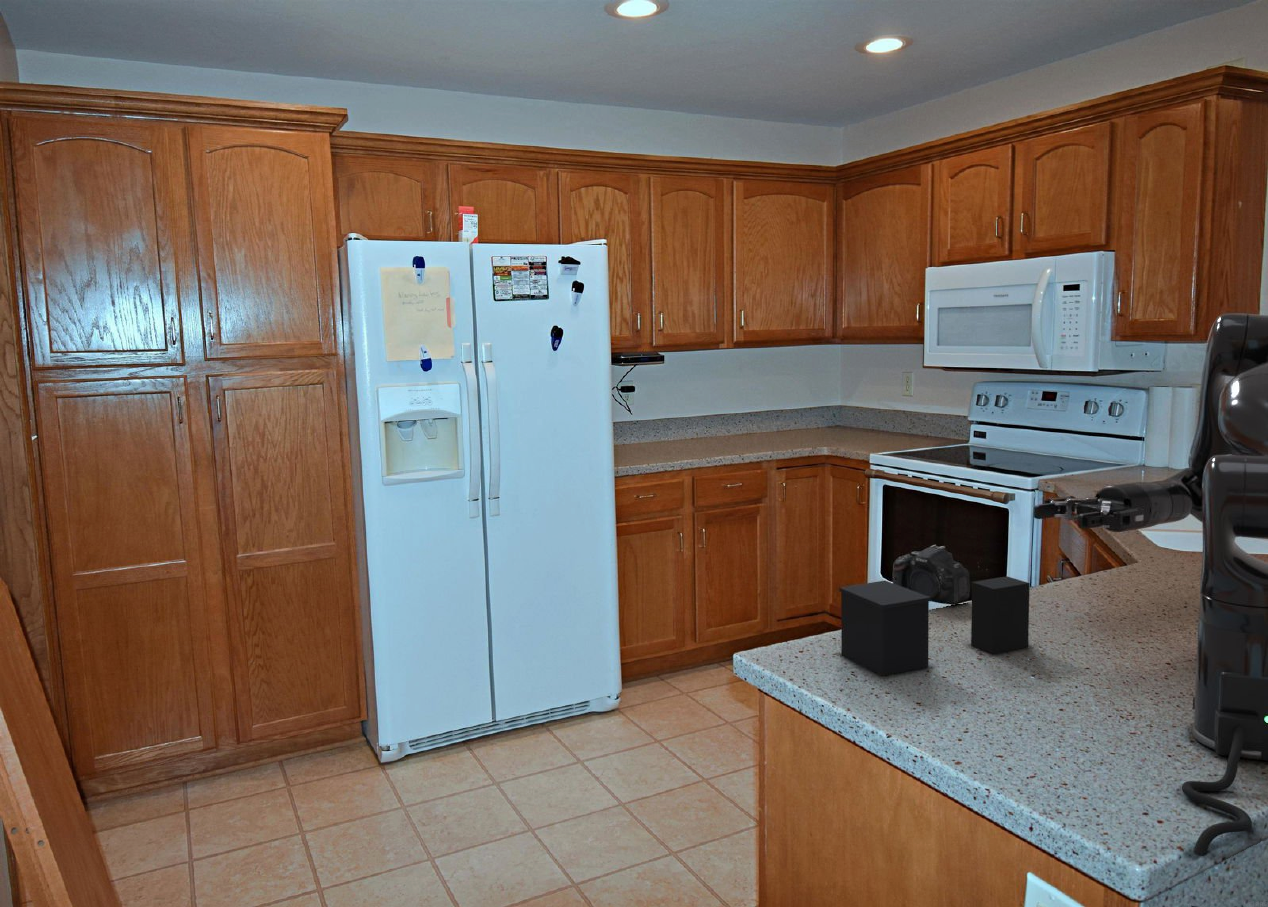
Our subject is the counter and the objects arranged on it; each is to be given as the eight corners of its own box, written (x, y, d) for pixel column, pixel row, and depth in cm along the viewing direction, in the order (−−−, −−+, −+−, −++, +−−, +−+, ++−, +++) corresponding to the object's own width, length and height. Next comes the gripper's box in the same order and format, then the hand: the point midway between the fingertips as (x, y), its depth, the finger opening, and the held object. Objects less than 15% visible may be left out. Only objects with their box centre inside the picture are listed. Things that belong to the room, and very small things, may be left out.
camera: (886, 603, 159) (886, 549, 158) (897, 589, 168) (898, 537, 166) (965, 611, 153) (965, 555, 152) (972, 596, 161) (973, 542, 160)
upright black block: (1028, 647, 135) (1029, 583, 133) (992, 654, 132) (993, 589, 131) (1006, 638, 139) (1007, 576, 138) (970, 645, 136) (971, 582, 135)
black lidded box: (930, 667, 128) (931, 597, 126) (882, 677, 125) (882, 605, 123) (884, 645, 137) (885, 580, 136) (839, 654, 134) (839, 587, 133)
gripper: (1095, 477, 149) (1022, 486, 143) (1174, 489, 136) (1097, 500, 130) (1094, 521, 150) (1021, 532, 144) (1172, 537, 137) (1095, 550, 131)
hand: (1057, 517), depth 137 cm, fingers open, 8 cm apart
